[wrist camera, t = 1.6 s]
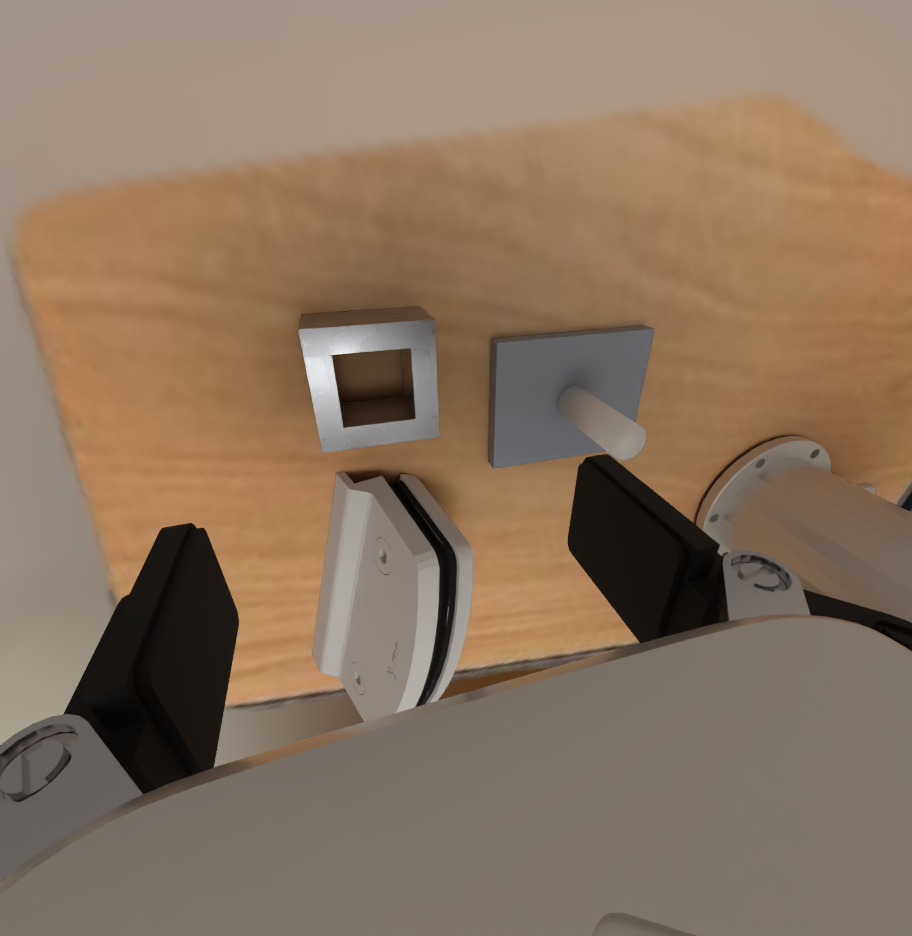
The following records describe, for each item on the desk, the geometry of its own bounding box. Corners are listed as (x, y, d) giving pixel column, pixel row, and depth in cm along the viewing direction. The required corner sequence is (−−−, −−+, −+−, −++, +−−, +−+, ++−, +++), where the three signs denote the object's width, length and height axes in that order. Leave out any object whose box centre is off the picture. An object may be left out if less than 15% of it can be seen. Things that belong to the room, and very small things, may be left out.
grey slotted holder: (336, 467, 26) (422, 574, 19) (405, 460, 29) (500, 552, 22) (311, 657, 33) (367, 784, 27) (368, 638, 36) (431, 747, 29)
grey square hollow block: (420, 306, 23) (434, 319, 20) (426, 412, 26) (439, 437, 23) (301, 314, 22) (298, 329, 19) (321, 424, 25) (322, 453, 22)
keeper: (644, 325, 27) (734, 355, 21) (621, 441, 31) (692, 493, 25) (491, 338, 25) (544, 376, 19) (488, 461, 29) (531, 523, 23)
